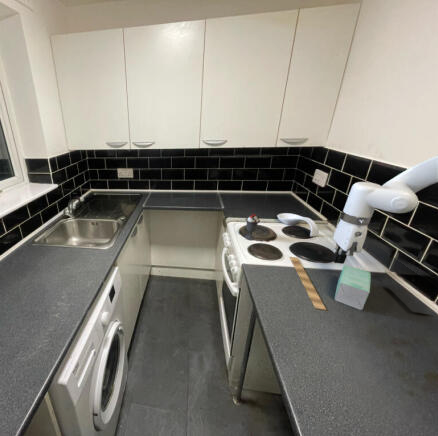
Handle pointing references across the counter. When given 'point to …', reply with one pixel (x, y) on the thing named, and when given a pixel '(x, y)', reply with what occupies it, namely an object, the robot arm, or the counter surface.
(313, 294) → the strip
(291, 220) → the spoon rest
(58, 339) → the counter surface
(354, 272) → the box
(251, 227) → the sundae
